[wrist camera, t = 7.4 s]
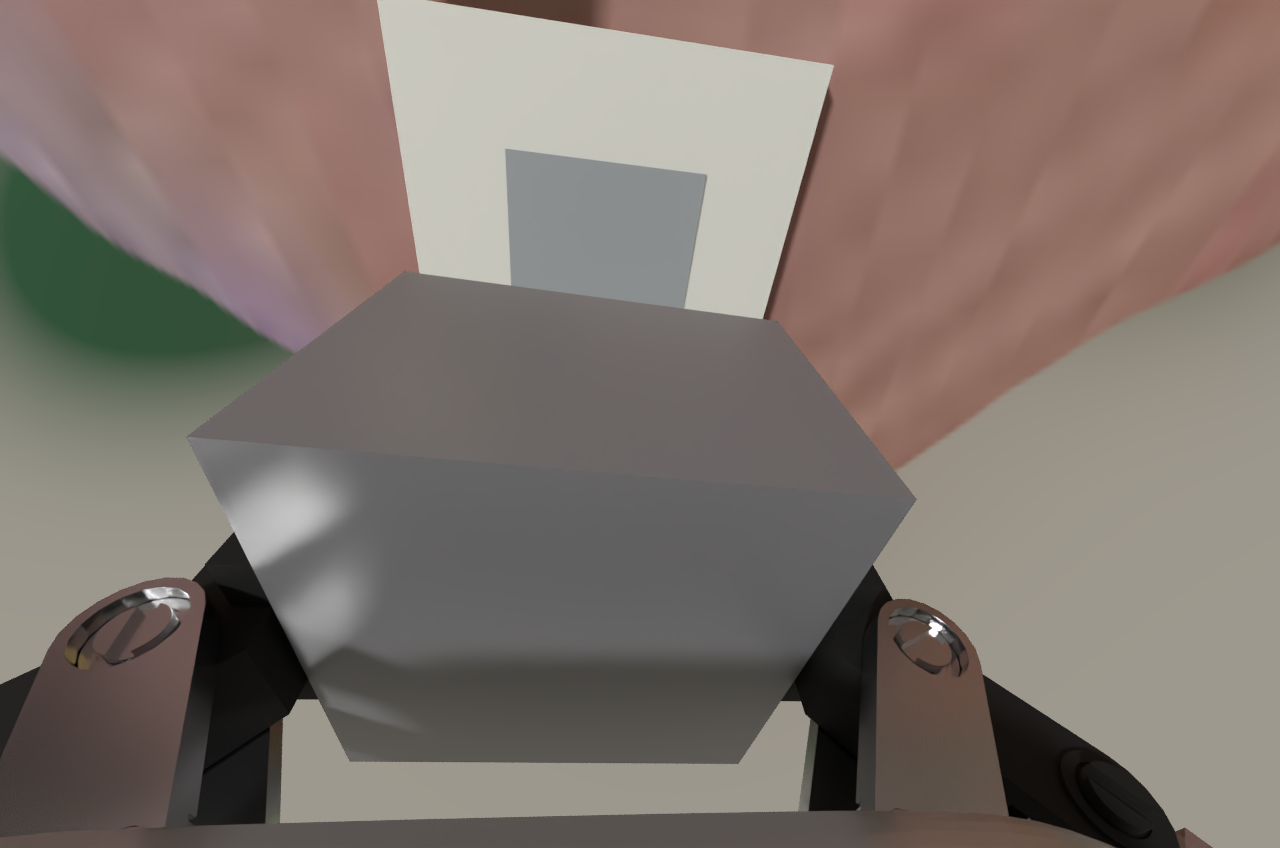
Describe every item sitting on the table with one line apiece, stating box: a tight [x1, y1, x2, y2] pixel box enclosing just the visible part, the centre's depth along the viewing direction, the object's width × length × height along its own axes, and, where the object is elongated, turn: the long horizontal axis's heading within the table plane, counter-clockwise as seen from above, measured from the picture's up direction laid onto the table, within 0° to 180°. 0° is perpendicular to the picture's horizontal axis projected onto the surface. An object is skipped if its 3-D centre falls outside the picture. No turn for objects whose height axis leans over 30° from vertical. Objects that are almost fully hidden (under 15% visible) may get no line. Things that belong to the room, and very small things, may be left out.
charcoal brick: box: [187, 271, 916, 764], centre depth 8 cm, size 7×7×5 cm
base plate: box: [377, 0, 834, 319], centre depth 23 cm, size 18×18×1 cm
